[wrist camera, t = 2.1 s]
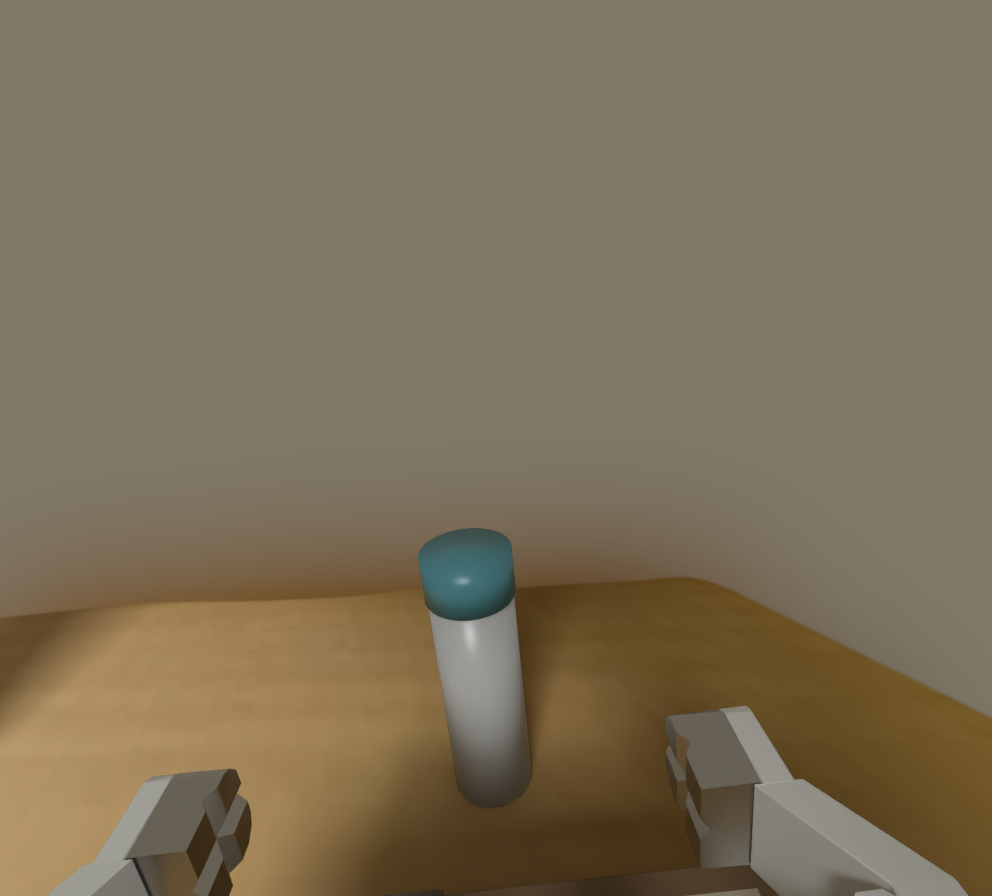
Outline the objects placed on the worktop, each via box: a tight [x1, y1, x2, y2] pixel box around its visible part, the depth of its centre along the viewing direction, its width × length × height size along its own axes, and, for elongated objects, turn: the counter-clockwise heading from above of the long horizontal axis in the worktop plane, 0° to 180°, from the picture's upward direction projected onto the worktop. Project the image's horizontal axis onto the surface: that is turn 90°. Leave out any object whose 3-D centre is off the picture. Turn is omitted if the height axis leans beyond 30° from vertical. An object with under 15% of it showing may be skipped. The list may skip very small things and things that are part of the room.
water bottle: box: [418, 528, 532, 808], centre depth 25 cm, size 4×4×12 cm
